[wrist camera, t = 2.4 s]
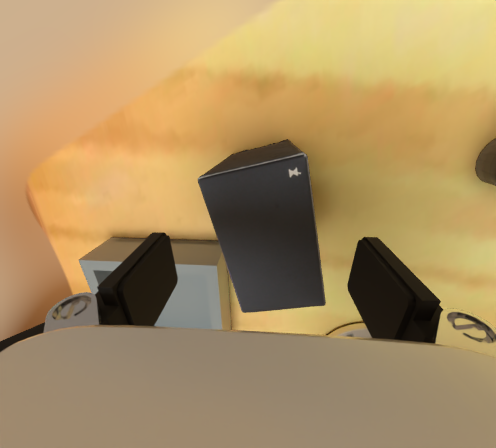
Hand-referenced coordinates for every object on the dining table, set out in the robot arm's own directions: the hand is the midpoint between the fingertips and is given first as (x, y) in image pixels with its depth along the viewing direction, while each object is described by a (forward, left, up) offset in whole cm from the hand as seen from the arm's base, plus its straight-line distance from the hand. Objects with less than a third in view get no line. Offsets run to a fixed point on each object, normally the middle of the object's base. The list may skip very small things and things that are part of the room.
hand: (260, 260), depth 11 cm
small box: (0, +1, -13) cm, 13 cm away
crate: (+12, +15, -13) cm, 23 cm away
